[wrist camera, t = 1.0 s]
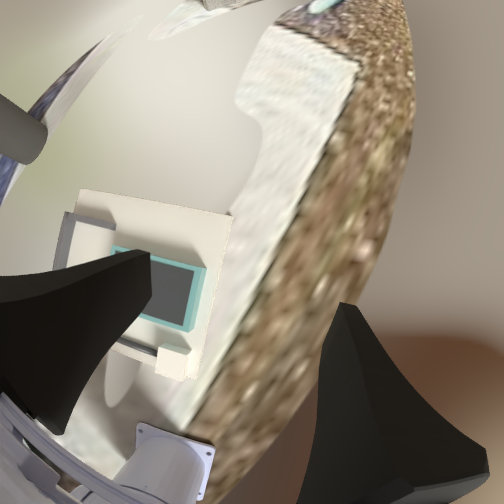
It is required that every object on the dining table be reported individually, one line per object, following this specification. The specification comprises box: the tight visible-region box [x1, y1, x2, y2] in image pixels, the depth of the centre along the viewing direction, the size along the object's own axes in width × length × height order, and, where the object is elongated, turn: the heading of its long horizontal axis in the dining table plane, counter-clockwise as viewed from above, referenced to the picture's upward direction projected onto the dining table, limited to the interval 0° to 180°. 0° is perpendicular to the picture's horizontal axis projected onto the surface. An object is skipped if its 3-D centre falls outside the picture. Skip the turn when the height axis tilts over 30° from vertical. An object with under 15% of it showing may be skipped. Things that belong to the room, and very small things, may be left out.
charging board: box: [52, 188, 233, 382], centre depth 21 cm, size 16×14×2 cm
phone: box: [110, 245, 207, 333], centre depth 21 cm, size 8×5×2 cm, turn 77°
